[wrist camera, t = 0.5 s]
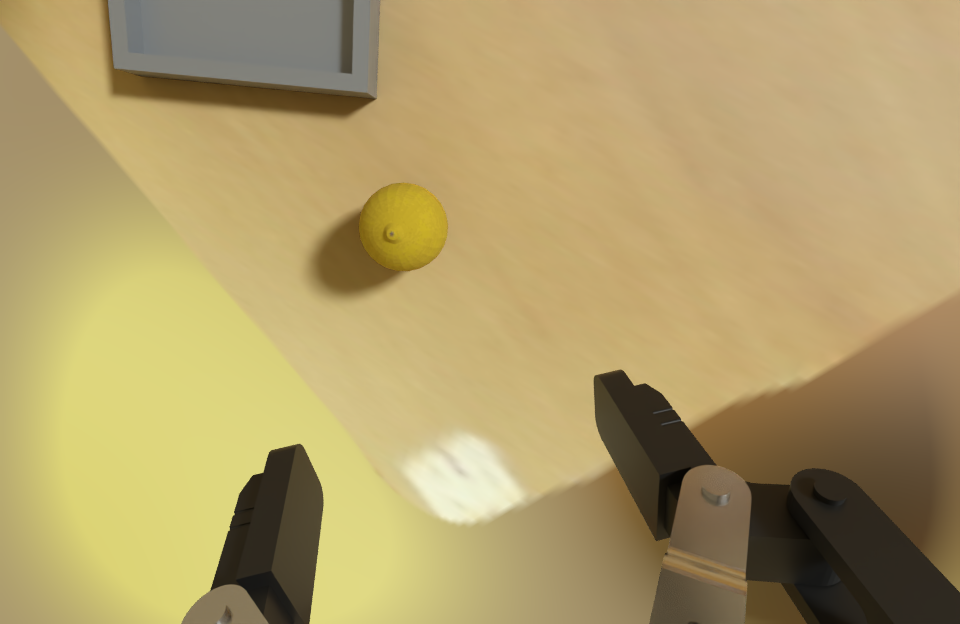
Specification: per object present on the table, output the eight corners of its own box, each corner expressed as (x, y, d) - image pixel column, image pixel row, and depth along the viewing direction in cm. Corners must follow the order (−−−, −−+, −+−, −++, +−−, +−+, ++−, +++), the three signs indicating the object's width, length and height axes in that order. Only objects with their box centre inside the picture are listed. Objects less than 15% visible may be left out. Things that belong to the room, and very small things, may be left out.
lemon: (403, 166, 35) (378, 162, 27) (467, 214, 36) (460, 224, 28) (360, 230, 36) (324, 244, 28) (423, 275, 37) (405, 301, 29)
